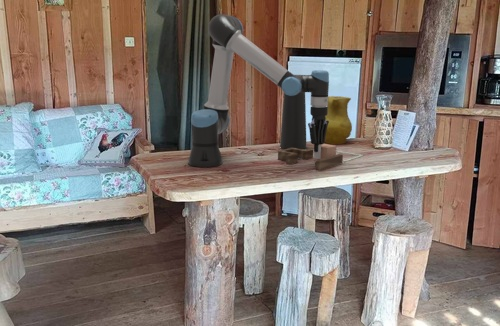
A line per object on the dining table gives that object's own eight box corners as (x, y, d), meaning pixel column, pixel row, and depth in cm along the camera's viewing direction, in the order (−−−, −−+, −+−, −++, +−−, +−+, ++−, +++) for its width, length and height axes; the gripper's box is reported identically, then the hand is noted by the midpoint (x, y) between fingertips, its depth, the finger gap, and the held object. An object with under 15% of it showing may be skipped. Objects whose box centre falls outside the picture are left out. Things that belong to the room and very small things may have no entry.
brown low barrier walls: (272, 160, 224) (272, 152, 223) (296, 154, 236) (296, 146, 236) (319, 170, 207) (319, 161, 206) (342, 163, 219) (342, 154, 219)
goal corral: (314, 156, 233) (314, 155, 233) (333, 150, 245) (333, 150, 245) (344, 162, 222) (345, 161, 222) (363, 156, 234) (363, 155, 234)
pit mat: (285, 159, 226) (285, 158, 226) (293, 157, 231) (293, 156, 231) (293, 161, 223) (293, 160, 223) (301, 159, 227) (301, 158, 227)
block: (314, 160, 224) (314, 145, 222) (322, 158, 229) (323, 143, 227) (326, 163, 219) (327, 148, 218) (335, 160, 224) (336, 145, 223)
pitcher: (311, 141, 267) (316, 95, 261) (332, 138, 279) (337, 94, 274) (336, 146, 255) (342, 98, 249) (357, 143, 267) (363, 98, 261)
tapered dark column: (293, 151, 243) (295, 93, 236) (274, 147, 253) (275, 91, 246) (311, 147, 252) (313, 91, 245) (292, 143, 262) (294, 89, 255)
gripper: (317, 108, 207) (315, 162, 213) (334, 105, 216) (332, 157, 222) (303, 106, 212) (301, 159, 218) (320, 104, 221) (318, 154, 227)
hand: (317, 158), depth 220 cm, fingers closed
